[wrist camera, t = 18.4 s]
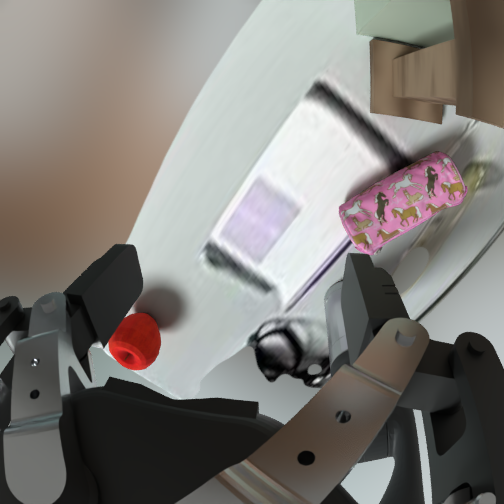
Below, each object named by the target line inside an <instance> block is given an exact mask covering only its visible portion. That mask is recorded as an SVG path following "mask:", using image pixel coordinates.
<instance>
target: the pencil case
mask: <svg viewBox="0 0 504 504" xmlns="http://www.w3.org/2000/svg"><path fill="white" fill-rule="evenodd" d="M466 193H467V186H465V185H464V182H463V179H462V177H461V175H460V173H459V171H458V169H457V167H456V165H455V164H454V162H453V161H452V159H451V158H450V157H449V156H448V155H447V154H445V153H442V152H439V151H435V152H434V153H432V154H430V155H428V156H426V157H424V158H422V159H420V160H419V161H417V162H416V163H413V164H411V165H409V166H407V167H404V168H403V169H401V170H399V171H397V172H395V173H394V174H392V175H390V176H388V177H387V178H385V179H383V180H381V181H379V182H377V183H375V184H374V185H372V186H371V187H369V188H368V189H367V190H365V191H363V192H362V193H360V194H358V195H356V196H355V197H353V198H352V199H350V200H349V201H347V202H345V203H344V204H342V205H341V206H339V215H340V218H341V221H342V224H343V226H344V228H345V230H346V232H347V234H348V235H349V237H350V239H351V241H352V242H353V244H354V245H355V246H356V247H355V248H356V249H357V250H359V251H360V252H363V253H365V254H369V255H374V254H375V255H378V254H379V253H380V251H381V249H382V246H383V245H385V244H386V243H388V242H389V241H391V240H393V239H394V238H396V237H398V236H400V235H402V234H404V233H406V232H408V231H409V230H411V229H413V228H415V227H416V226H418V225H419V224H421V223H422V222H424V221H426V220H427V219H429V218H430V217H432V216H434V215H435V214H436V213H438V212H439V211H441V210H442V209H445V208H447V207H453V206H456V205H459V204H461V203H462V202H463V199H464V197H465V196H466Z"/></svg>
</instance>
